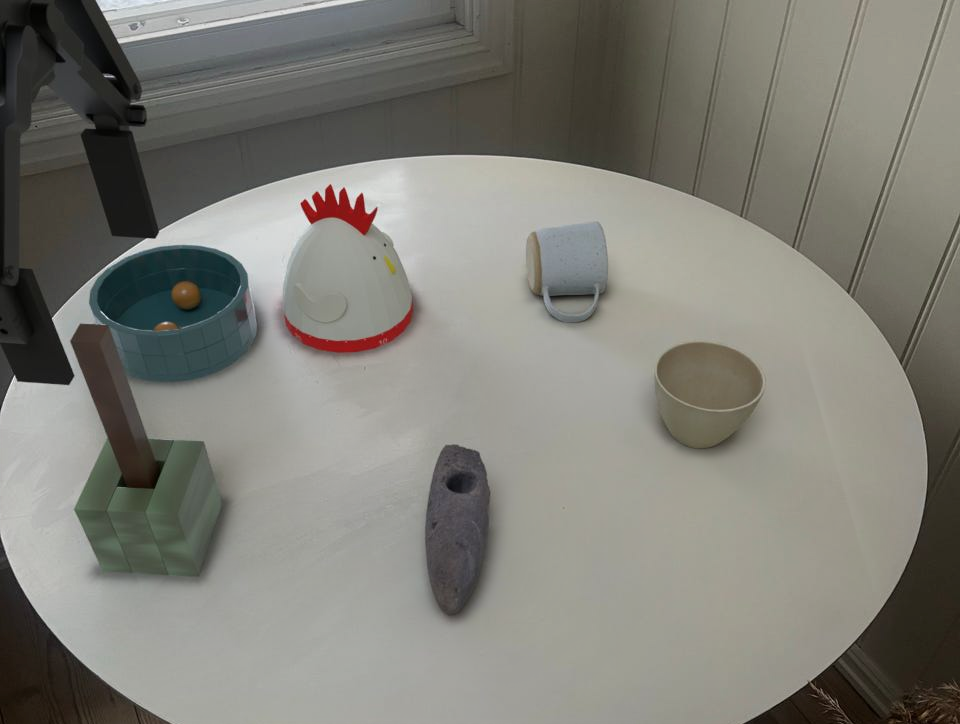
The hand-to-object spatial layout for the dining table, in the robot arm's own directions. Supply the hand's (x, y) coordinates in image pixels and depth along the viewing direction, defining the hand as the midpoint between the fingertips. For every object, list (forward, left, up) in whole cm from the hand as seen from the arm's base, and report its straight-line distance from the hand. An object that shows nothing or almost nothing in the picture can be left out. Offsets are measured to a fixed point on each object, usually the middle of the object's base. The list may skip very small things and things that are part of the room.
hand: (95, 300), depth 52 cm
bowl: (-11, +34, -30) cm, 47 cm away
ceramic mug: (+30, +44, -30) cm, 61 cm away
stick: (-5, +7, -30) cm, 31 cm away
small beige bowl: (+42, +23, -30) cm, 57 cm away
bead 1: (-11, +31, -28) cm, 43 cm away
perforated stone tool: (+20, +6, -30) cm, 37 cm away
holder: (-5, +7, -30) cm, 31 cm away
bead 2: (-11, +38, -28) cm, 48 cm away
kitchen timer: (+6, +39, -30) cm, 50 cm away
